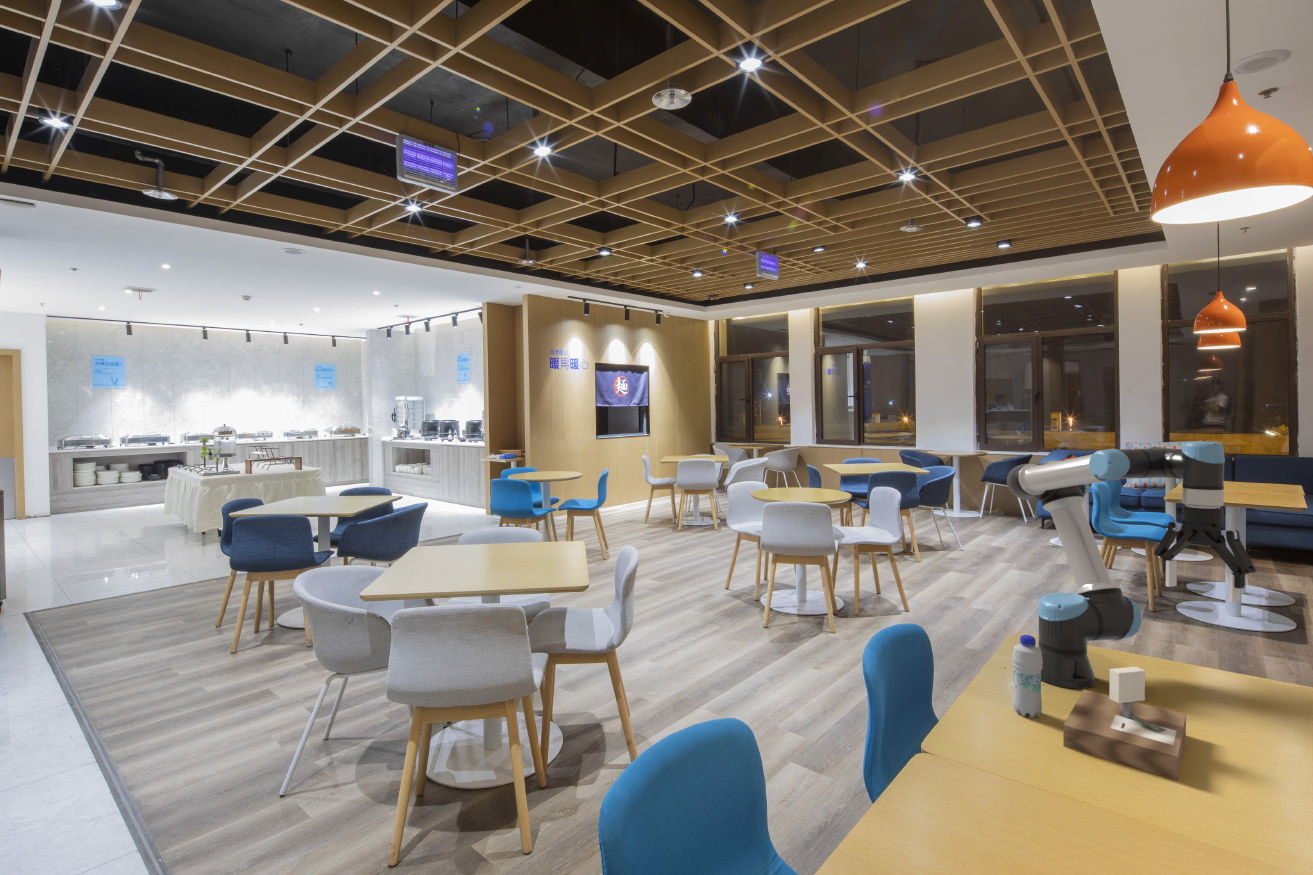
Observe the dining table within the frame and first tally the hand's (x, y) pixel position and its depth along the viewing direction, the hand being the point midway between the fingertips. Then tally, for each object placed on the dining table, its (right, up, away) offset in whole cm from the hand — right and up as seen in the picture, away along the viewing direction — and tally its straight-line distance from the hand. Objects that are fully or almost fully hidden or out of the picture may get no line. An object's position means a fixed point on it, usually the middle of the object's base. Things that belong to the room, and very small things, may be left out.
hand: (1201, 593), depth 150 cm
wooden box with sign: (-23, -32, -6) cm, 40 cm away
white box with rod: (-21, -27, -8) cm, 36 cm away
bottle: (-38, -32, +7) cm, 50 cm away
